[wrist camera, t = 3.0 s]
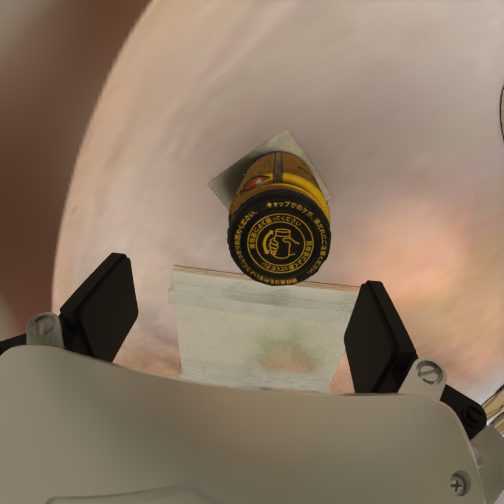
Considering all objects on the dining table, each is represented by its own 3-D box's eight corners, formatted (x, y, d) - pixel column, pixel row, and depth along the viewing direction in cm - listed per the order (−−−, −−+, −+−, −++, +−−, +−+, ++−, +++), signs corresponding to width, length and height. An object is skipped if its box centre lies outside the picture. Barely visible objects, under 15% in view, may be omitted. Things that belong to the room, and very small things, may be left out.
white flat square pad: (174, 265, 29) (166, 278, 27) (364, 287, 28) (370, 302, 26) (185, 373, 38) (180, 386, 36) (324, 389, 37) (325, 403, 35)
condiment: (332, 196, 25) (369, 263, 14) (255, 244, 27) (239, 331, 17) (286, 127, 22) (292, 139, 12) (208, 183, 25) (155, 239, 14)
